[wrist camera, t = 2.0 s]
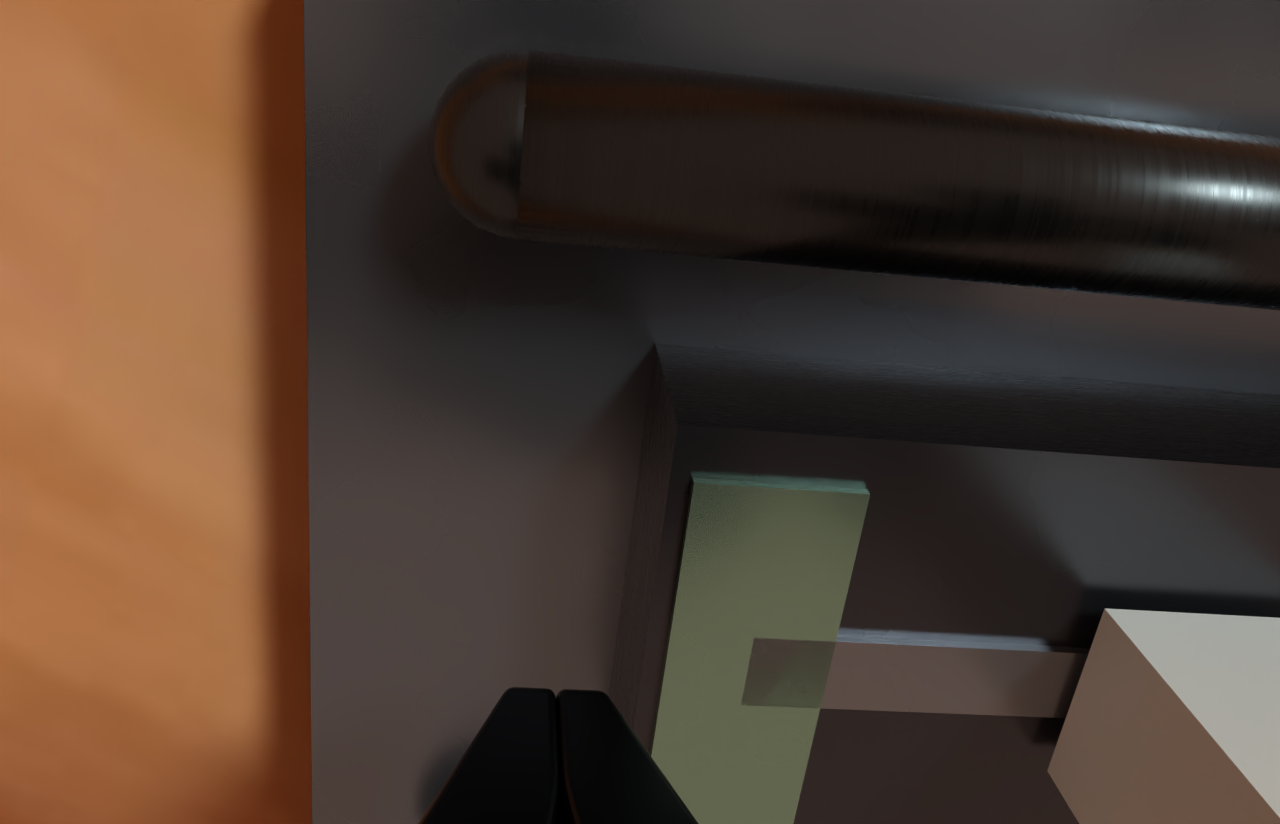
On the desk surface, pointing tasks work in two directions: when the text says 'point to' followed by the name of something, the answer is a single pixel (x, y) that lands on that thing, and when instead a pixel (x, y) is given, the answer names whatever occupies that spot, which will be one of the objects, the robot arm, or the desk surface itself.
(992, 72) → the panel
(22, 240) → the desk surface
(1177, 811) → the lever
